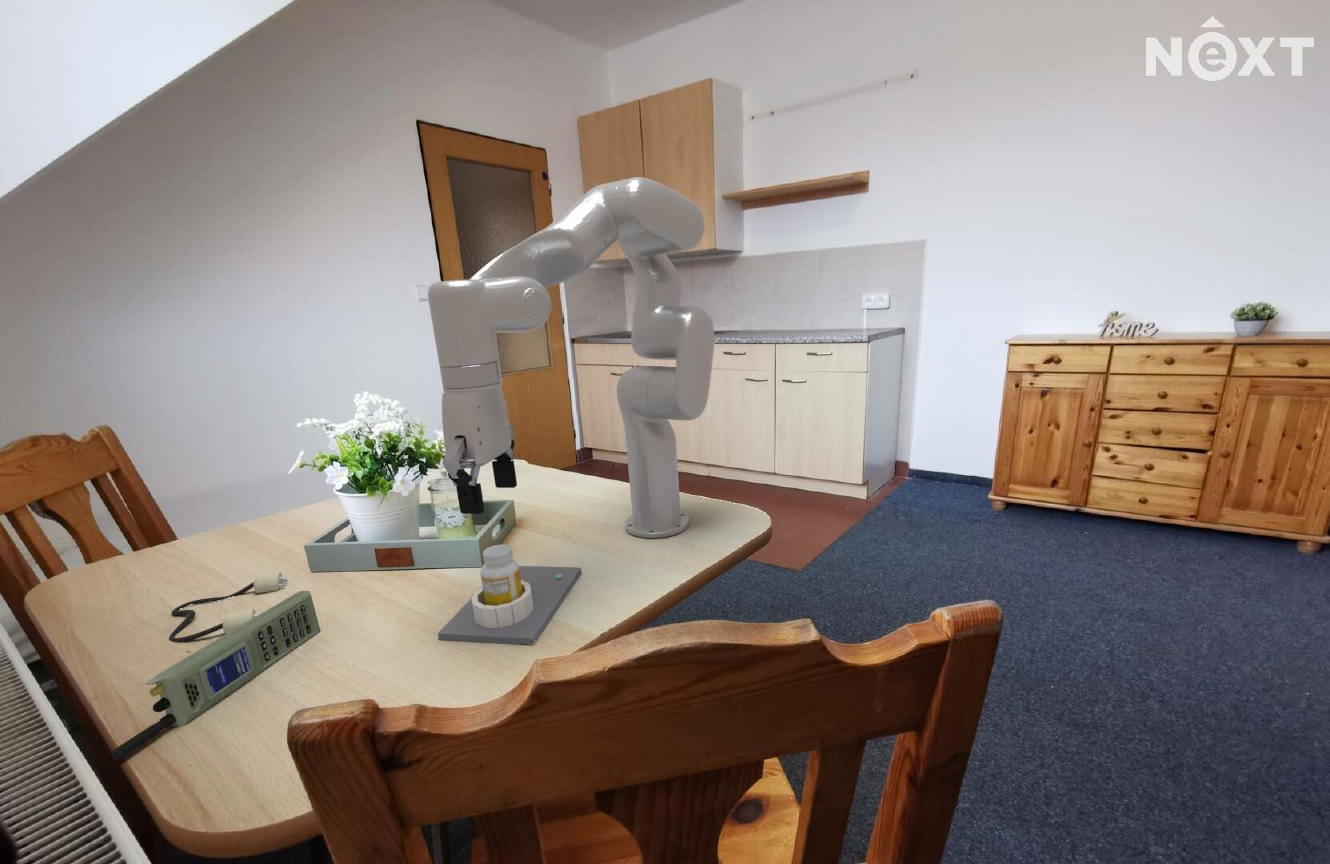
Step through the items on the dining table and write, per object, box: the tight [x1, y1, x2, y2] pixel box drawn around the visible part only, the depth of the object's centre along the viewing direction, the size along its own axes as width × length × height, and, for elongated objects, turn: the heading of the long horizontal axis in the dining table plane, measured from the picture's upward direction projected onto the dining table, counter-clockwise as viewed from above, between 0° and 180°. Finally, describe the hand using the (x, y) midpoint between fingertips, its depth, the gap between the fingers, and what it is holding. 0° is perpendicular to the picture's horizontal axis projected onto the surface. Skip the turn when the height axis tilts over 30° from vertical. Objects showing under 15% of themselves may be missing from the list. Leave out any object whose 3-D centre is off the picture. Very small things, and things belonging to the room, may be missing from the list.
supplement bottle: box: [480, 543, 522, 606], centre depth 81 cm, size 5×5×10 cm
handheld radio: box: [110, 590, 321, 762], centre depth 71 cm, size 7×3×25 cm
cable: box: [168, 572, 289, 643], centre depth 88 cm, size 16×16×4 cm
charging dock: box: [437, 565, 582, 645], centre depth 86 cm, size 20×14×4 cm
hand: (490, 499), depth 78 cm, fingers open, 9 cm apart
